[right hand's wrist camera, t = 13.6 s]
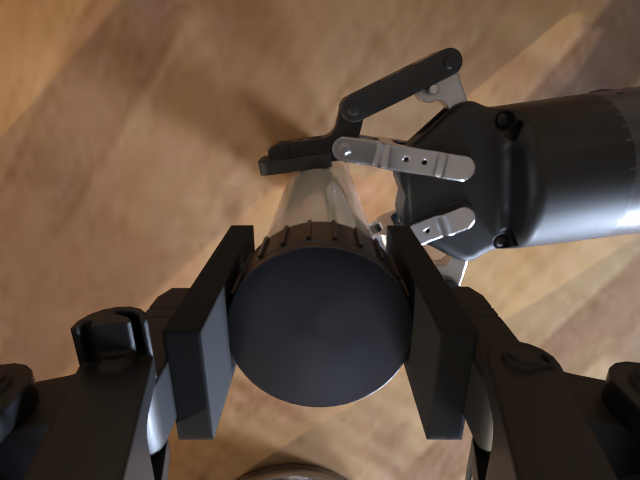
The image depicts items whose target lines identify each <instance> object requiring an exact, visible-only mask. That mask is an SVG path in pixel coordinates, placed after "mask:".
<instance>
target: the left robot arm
mask: <svg viewBox="0 0 640 480" xmlns="http://www.w3.org/2000/svg"><path fill="white" fill-rule="evenodd" d="M461 66H462V56H461V54H460V52H459V51H458V50H456V49H454V48H447V49H444V50H441V51H438V52H435V53H432V54H430V55H428V56H426V57H424V58H422V59H420V60H418V61H416V62H414V63H412V64H410V65H408V66H406V67H404V68H402V69H400V70H398V71H396V72H394V73H392V74H390V75H388V76H386V77H384V78H382V79H380V80H378V81H376V82H374V83H372V84H370V85H368V86H366V87H364V88H362V89H360V90H358V91H356V92H354V93H352V94H350V95H348V96H346V97H344V98H343V99H342V100H341V102H340V104H339V110H338V115H337V119H336V124H335V126H334V128H333V130H332V131H331V132H330V133H328V134H326V135H323V136H315V137H308V138H301V139H294V140H286V141H280V142H278V143H276V144H274V145H273V146H271V147H270V148H269V149H268V154H269V156H264V157H262V158H261V159H260V160H259V161H258V163H259V169H260V174H261V175H273V174H281V173H288V172H296V171H303V170H310V169H317V168H325V167H332V162H333V161H343V162H350V163H357V164H364V165H370V166H376V167H379V168H382V169H387V170H393V175H394V178H395V180H396V183H397V186H398V192H397V197H396V202H395V203H396V209H395V210H393V211H391V212H388V213H386V214H383V215H381V216H379V217H378V218H377V219H376V220H375V221H374V222H371V223H369V227H370V230H371V232H372V235H373V238H374V239H375V238H376V239H377V240H378V241H379V244H380V246H381V247H382V248H383V249H384V250H385V252H386V237H387V225H409V226H410V228H411V229H412V231H413V232H414V234H415V235H416V237H417V238H418V240H419V241H420V243H421V244H422V245H423V244H428V245H430V246H432V247H434V248H436V249H438V250H440V251H442V252H443V253H445V254H447V255H446V256H445V257H444V258H442V259H439V260H432V261H433V263H434V264H435V266H436V267H437V269H438V270H439V272H440V273H441V275H442V276H443V278H444V279H445V281H446V282H447V284H448V285H449V287H460V284H461V281H462V278H463V275H464V272H465V268H466V265H467V262H468V261H470V260H473V259H476V258H478V257H479V256H481V255H482V254H484V253H486V252H488V251H490V250H493V249H500V248H523V247H531V246H538V245H546V244H554V243H562V242H571V241H579V240H587V239H595V238H602V237H610V236H619V235H627V234H636V233H640V87H631V88H623V89H616V90H613V89H600V90H595V91H592V92H589V93H588V94H580V95H573V96H566V97H559V98H552V99H544V100H537V101H530V102H523V103H516V104H509V105H502V106H494V107H486V106H483V105H481V104H479V103H476V102H473V101H467V99H466V96H465V93H464V90H463V87H462V84H461V81H460V78H459V75H458V71H459V70H460V68H461ZM412 95H415V97H416V98H417V99H418V100H419V101H421V102H434V101H439V102H440V103H441V104H442V105H443V106H444V108H443V109H442V110H441V111H440V112H439V113H438V114H437V115H436V116H435V117H434V118H432V119H431V120H430V121H429V122H428V123H427V124H426V125H425V126H424V127H423V128H421V129H420V130H419V131H418V132H417V133H416V134H415V135H414V136H413V137H412V138H410V139H409V140H408V141H405V140H398V139H392V138H385V137H374V136H367V135H360V130H361V126H362V122H363V119H365V118H367V117H369V116H371V115H373V114H375V113H377V112H379V111H381V110H383V109H385V108H387V107H389V106H391V105H393V104H395V103H397V102H399V101H401V100H404V99H406V98H408V97H410V96H412Z"/></svg>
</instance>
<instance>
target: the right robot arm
mask: <svg viewBox="0 0 640 480" xmlns="http://www.w3.org/2000/svg"><path fill="white" fill-rule="evenodd" d="M250 252H253V253H254V252H255V246H254V230H253V225H231V227H230V228H229V230H228V231H227V233H226V234H225V236H224V237H223V239H222V241H221V242H220V244H219V245H218V247H217V248H216V250H215V251H214V253H213V254H212V256H211V257H210V259H209V260H208V262H207V263H206V265H205V266H204V268H203V269H202V271H201V272H200V274H199V275H198V277H197V279H196V280H195V282H194V283H193V285H192V286H191V288H172V289H170V290H168V291H167V292H165V293H163V294H162V295H160V296H159V297H157V299H156V300H155V301H154V302H153V304H152V305H151V306H150V309H148V310H147V311H146V313H145V312H144V311H142V310H141V309H138V308H134V307H115V308H109V309H104V310H101V311H98V312H95V313H92V314H90V315H88V316H86V317H84V318H83V319H81V320H79V321H78V322H77V323H76V324H75V325H74V326H73V327H72V328H71V333H72V337H73V341H74V345H75V349H76V353H77V357H78V361H79V365H80V366H79V368H78V370H77V372H76V374H73V375H69V376H65V377H60V378H55V379H50V380H45V381H40V382H35V379H34V376H33V372H32V370H31V369H30V368H29V367H28V366H26V365H22V364H16V363H13V364H3V365H0V480H167V478H168V470H169V462H170V449H169V443H168V436H169V434H170V431H171V429H172V427H173V425H174V422H175V420H176V426H177V432H178V438H179V439H214V436H215V433H216V430H217V426H218V423H219V420H220V417H221V413H222V410H223V407H224V403H225V400H226V397H227V394H228V390H229V387H230V384H231V381H232V377H233V374H234V371H235V367H236V364H237V363H236V361H235V359H234V358H233V355H232V353H231V350H230V345H229V335H228V324H227V313H228V308H229V304H230V302H231V299H232V296H230V293H231V291H232V289H233V286H234V284H235V282H236V280H237V277H238V275H239V273H240V271H242V269H243V267H244V265H245V262H246V260H247V258H248V255H249V254H250ZM386 253H387V254H388V255H390V254H391V255H392V257H393V259H394V261H395V263H396V266H397V268H398V270H399V272H400V274H401V276H402V278H403V280H404V283H405V285H406V287H407V290H408V292H409V294H410V297H411V298H410V299H409V302H410V305H411V308H412V313H413V329H412V340H411V347H410V350H409V353H408V355H407V357H406V360H405V361H404V366H405V369H406V373H407V376H408V379H409V382H410V386H411V389H412V392H413V396H414V399H415V402H416V405H417V409H418V412H419V415H420V418H421V422H422V425H423V428H424V432H425V435H426V438H427V439H462V435H463V429H464V422H465V419H466V421H467V424H468V426H469V428H470V431H471V433H472V435H473V437H472V443H471V448H470V454H469V460H468V466H467V472H466V479H465V480H471V478H472V477H473V480H640V363H636V362H620V363H615V364H614V365H613V366H611V367H610V368H609V371H608V374H607V378H606V381H605V380H600V379H595V378H590V377H585V376H580V375H575V374H571V373H567V372H563V370H562V368H561V366H560V364H559V363H558V362H557V361H556V359H555V358H554V357H553V356H551V355H550V354H548V353H547V352H545V351H544V350H542V349H540V348H538V347H535V346H533V345H530V344H527V343H522V342H519V341H518V339H517V338H516V337H515V336H514V334H513V333H512V332H511V330H510V329H509V328H508V327H507V325H506V324H505V323H504V322H503V320H502V319H501V318H500V317H498V314H497V313H496V312H495V310H494V309H493V308H491V305H490V304H489V303H488V301H487V300H486V299H485V298H484V296H483V295H481V294H479V293H478V292H476V291H474V290H473V289H471V288H470V287H449V285H448V284H447V282H446V281H445V279H444V278H443V276H442V275H441V273H440V272H439V270H438V269H437V267H436V266H435V264H434V263H433V261H432V260H431V258H430V257H429V255H428V253H427V252H426V250H425V249H424V247H423V246H422V244H421V243H420V241H419V240H418V238H417V237H416V235H415V234H414V232H413V231H412V229H411V228H410V226H409V225H387V237H386ZM238 480H347V479H345V478H344V477H342V476H340V475H338V474H336V473H334V472H331V471H329V470H326V469H322V468H319V467H314V466H308V465H298V464H287V465H276V466H270V467H266V468H262V469H259V470H256V471H254V472H251V473H249V474H247V475H245V476H243V477H241V478H240V479H238Z"/></svg>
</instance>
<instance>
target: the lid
mask: <svg viewBox="0 0 640 480" xmlns="http://www.w3.org/2000/svg"><path fill="white" fill-rule="evenodd" d="M230 296H232V299H231V302H230V304H229V308H228V313H227V324H228V335H229V345H230V350H231V353H232V355H233V358H234V359H235V361H236V363H237V365H238V366H239V368H240V369H241V370H242V372H243V373H244V374H245V375H246V377H247V378H248V379H249V380H250V381H251V382H252V383H254V384H255V385H256V386H257V387H259V388H260V389H261V390H263V391H265V392H266V393H268V394H269V395H271V396H274V397H276V398H278V399H280V400H283V401H286V402H289V403H292V404H296V405H301V406H309V407H331V406H339V405H344V404H348V403H351V402H354V401H357V400H360V399H362V398H364V397H367V396H369V395H370V394H372V393H374V392H375V391H377V390H378V389H380V388H381V387H382V386H384V385H385V384H386V383H387V382H388V381H389V380H391V379H392V378H393V377H394V375H395V374H396V373H397V372H398V370H399V369H400V368H401V366H402V365H403V363H404V361H405V360H406V357H407V355H408V353H409V350H410V347H411V340H412V329H413V313H412V308H411V305H410V302H409V299H410V298H411V297H410V294H409V292H408V290H407V287H406V285H405V283H404V280H403V278H402V276H401V274H400V272H399V270H398V268H397V266H396V263H395V261H394V259H393V257H392V255H391V254H390V255H388V254H387V253H386V252H385V250H384V249H383V248H382V247H381V246H380V244H379V241H378V240H377V239H376V238H375V239H374V240H373V239H372V238H371V237H369V236H368V235H366V234H364V233H363V232H361V231H359V227H356V226H355V228H352V227H350V226H346V225H343V224H339V223H336V220H332V222H317V221H316V222H312V220H308V221H307V222H306V223H301V224H297V225H293V226H291V227H289V226H288V225H286V226H284V229H283V230H281V231H279V232H277V233H275V234H274V235H272V236H271V237H268V236H266V237H265V238H264V240H263V243H262V244H261V245H260V246H259V247H258V248H257V249H256V250H255V252H254V253H253V252H250V254H249V255H248V258H247V260H246V262H245V265H244V267H243V269H242V271H240V273H239V275H238V277H237V280H236V282H235V284H234V286H233V289H232V291H231V293H230Z"/></svg>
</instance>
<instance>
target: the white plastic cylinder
mask: <svg viewBox="0 0 640 480" xmlns="http://www.w3.org/2000/svg"><path fill="white" fill-rule="evenodd" d="M308 220H312V222H316V221H317V222H332V220H336V223H339V224H343V225H346V226H350V227H352V228H355V226H356V227H359V231H361V232H363V233H364V234H366V235H368V236H369V237H371V238H372V239H373V240H374V238H373V235H372V232H371V230H370V227H369V224H368V221H367V219H366V216H365V213H364V210H363V208H362V205H361V202H360V199H359V197H358V194H357V191H356V188H355V186H354V183H353V180H352V177H351V175H350V172H349V169H348V167H347V165H346V163H345V162H343V161H333V162H332V167H325V168H317V169H310V170H303V171H296V172H290V175H289V178H288V180H287V183H286V186H285V189H284V191H283V194H282V197H281V200H280V202H279V205H278V208H277V210H276V213H275V216H274V219H273V221H272V224H271V227H270V230H269V232H268V235H267V236H268V237H271V236H272V235H274V234H275V233H277V232H279V231H281V230H283V229H284V226H286V225H288V226H289V227H291V226H293V225H297V224H301V223H306V222H307V221H308Z"/></svg>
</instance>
